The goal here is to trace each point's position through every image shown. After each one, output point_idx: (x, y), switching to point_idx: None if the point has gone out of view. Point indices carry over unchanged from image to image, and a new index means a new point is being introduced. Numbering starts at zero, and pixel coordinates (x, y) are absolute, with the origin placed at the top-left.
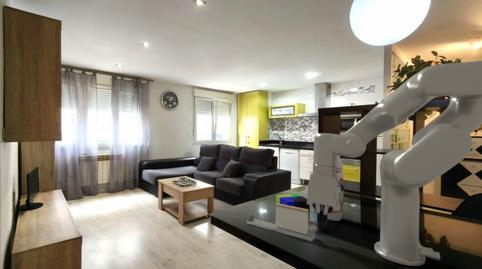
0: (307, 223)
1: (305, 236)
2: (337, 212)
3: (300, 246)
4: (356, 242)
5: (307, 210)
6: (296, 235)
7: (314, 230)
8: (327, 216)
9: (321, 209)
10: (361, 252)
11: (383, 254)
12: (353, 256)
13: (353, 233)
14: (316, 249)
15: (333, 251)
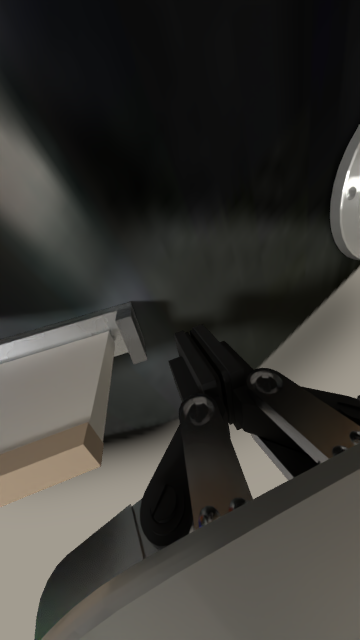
0: (109, 375)
1: (118, 354)
2: None
3: (140, 389)
4: (270, 195)
5: (96, 463)
6: None
7: (134, 324)
8: (247, 368)
9: (221, 421)
10: (290, 271)
11: (354, 256)
12: (273, 314)
13: (242, 51)
14: None
15: (224, 335)
